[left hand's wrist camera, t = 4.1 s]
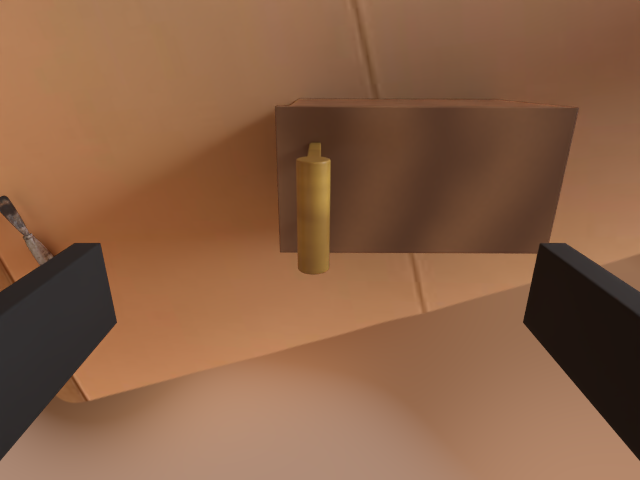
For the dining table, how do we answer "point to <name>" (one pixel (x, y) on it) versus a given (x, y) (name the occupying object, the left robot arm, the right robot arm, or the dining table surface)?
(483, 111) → the lid
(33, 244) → the putty knife
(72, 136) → the dining table surface
